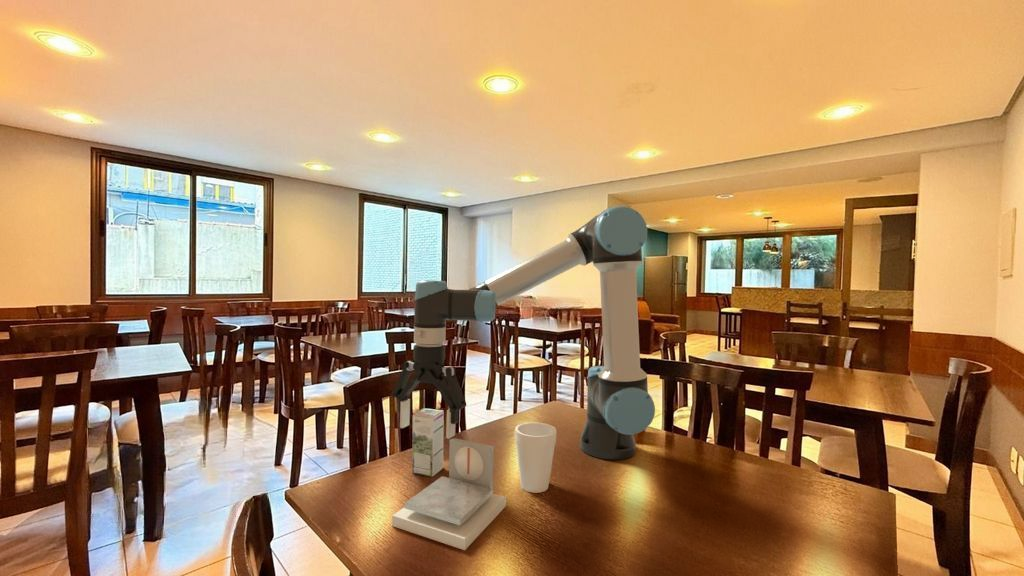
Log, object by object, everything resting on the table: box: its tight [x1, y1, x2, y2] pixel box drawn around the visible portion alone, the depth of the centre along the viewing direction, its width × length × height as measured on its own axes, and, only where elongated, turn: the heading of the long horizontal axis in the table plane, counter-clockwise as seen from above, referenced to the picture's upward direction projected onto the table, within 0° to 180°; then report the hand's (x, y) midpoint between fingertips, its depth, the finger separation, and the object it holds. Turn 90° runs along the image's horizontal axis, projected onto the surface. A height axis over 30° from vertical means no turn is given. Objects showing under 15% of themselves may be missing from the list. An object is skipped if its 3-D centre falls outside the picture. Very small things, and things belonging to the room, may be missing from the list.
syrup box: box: [411, 407, 445, 477], centre depth 104 cm, size 6×6×14 cm
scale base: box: [391, 437, 507, 551], centre depth 85 cm, size 16×16×12 cm
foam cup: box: [514, 421, 558, 494], centre depth 98 cm, size 10×9×13 cm
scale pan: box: [404, 476, 494, 525], centre depth 84 cm, size 12×12×1 cm
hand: (427, 431), depth 104 cm, fingers open, 13 cm apart
